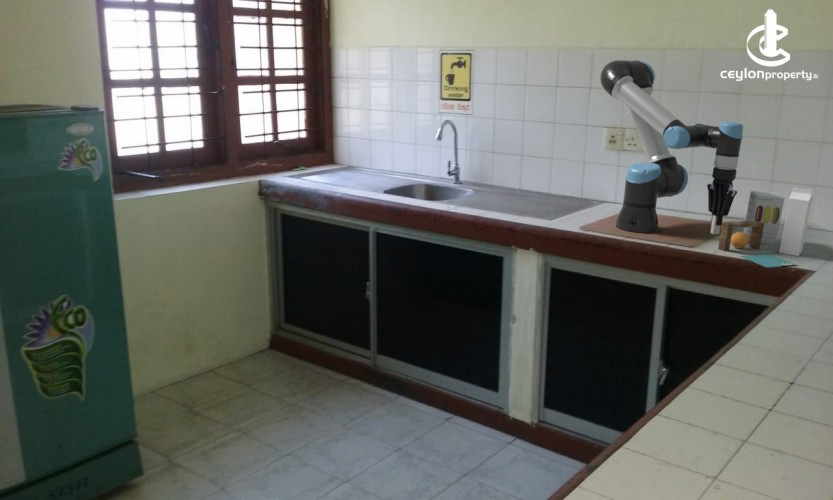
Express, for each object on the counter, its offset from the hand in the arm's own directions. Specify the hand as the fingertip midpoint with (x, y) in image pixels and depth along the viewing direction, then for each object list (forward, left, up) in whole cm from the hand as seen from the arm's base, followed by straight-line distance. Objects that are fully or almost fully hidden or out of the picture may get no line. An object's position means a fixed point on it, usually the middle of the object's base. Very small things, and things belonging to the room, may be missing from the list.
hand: (714, 233), depth 265 cm
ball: (0, -12, +1) cm, 12 cm away
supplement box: (+16, -4, -2) cm, 17 cm away
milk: (+15, -20, -2) cm, 25 cm away
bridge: (0, -13, -2) cm, 13 cm away
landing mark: (0, -27, -2) cm, 27 cm away
